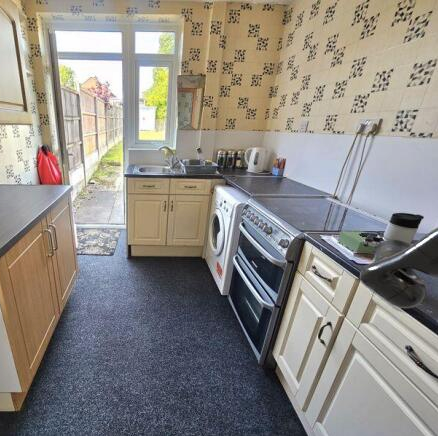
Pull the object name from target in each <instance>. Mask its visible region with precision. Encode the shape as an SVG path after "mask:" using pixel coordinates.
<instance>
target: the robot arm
mask: <svg viewBox="0 0 438 436" xmlns="http://www.w3.org/2000/svg"><path fill="white" fill-rule="evenodd" d="M384 233H385V232H384ZM384 233H383V232H380V233H377V235H374V234H373V233H369V235H368V236H367V237H366V238H365V241H364V244H363V246H365V247H368V246H374V247H375V249H376V253H375V254H373V259H374V262H373V261H372V262H373V263H372V262H371V263H368V264H366V265H365V266H364V267H363V268H362V269H361V270H360V273H359V279H360V282H361V283H362V284H363V285H364V286H366V287H367V288H369V289H370V290H372V291H373V292H374V293H375V294H377V295H378V296H379V297H380V298H382V299H383V300H384V301H386V302H387V303H389V304H390V305H392V306H394V307H396V308H401V309H411V308H414V307H415V308H416V307H417V306H419V305H420V304H421V303H423V302H424V300H425V298H426V295H427V288H426V285H425V283H424V281H423V279H422V278H421V277H420V276H419V274H418V273H417V272H421V273H423V274H425V275H428V276H430V277H434V278H438V227H436V228H434V229H432V230H431V231H430V232H428V233H427V234H425V235H424V236H423V237H421V238H420V239H419V240H417V241H415V240H414V239H413V240H412V242H411V244H410V243H405V242H403V241H399V240H389V239H388V238H385V237H383V236H384ZM415 270H416V271H417V272H416V271H415Z"/></svg>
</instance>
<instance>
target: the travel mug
mask: <svg viewBox="0 0 438 436" xmlns="http://www.w3.org/2000/svg"><path fill="white" fill-rule="evenodd" d="M424 218H425V216H424V215H421V214H414V213H408V212H395V213H392V214H391V217H390V220H389V221H388V224H387V226H386V228H385V230H384V236H383V237H385V238H388V239H389V240H399V241H403V242H405V243H410V244H411V242H412V240H414V238H415V236H416V234H417V231H418V229H419V227H420V224H421V222H422V221H423V220H424ZM373 262H374V258H373V260H372V262H371V263H373Z"/></svg>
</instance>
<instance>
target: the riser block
mask: <svg viewBox="0 0 438 436" xmlns="http://www.w3.org/2000/svg"><path fill="white" fill-rule="evenodd" d="M361 233H368V232H366V231H357V230H355V231H353V230H352V231H349V230H340V232H339V234H338V235H339V236H338V238H337V241H339V242H340V243H342V244H344V245H345V246H347V247H348V248H350V249H352V250H353V251H355V252H357V253H376V249H375V247H374V246H368V247H365V246H363V244H364V241H365V238H366V237H362V236H360V235H359V234H361ZM340 243H339V244H340ZM345 246H344V247H345ZM348 248H347V249H348ZM353 251H352V252H353Z"/></svg>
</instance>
